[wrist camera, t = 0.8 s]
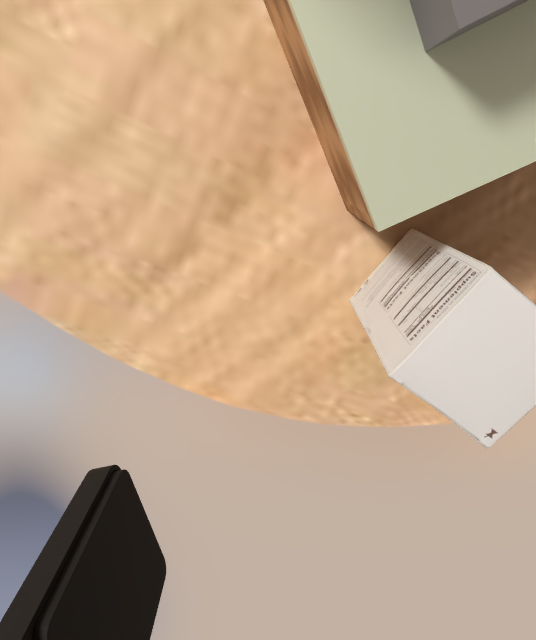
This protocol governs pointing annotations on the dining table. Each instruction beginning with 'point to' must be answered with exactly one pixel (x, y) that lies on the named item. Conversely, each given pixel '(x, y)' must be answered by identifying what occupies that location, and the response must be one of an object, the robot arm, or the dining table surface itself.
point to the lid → (425, 94)
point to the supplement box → (452, 334)
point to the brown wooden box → (317, 107)
